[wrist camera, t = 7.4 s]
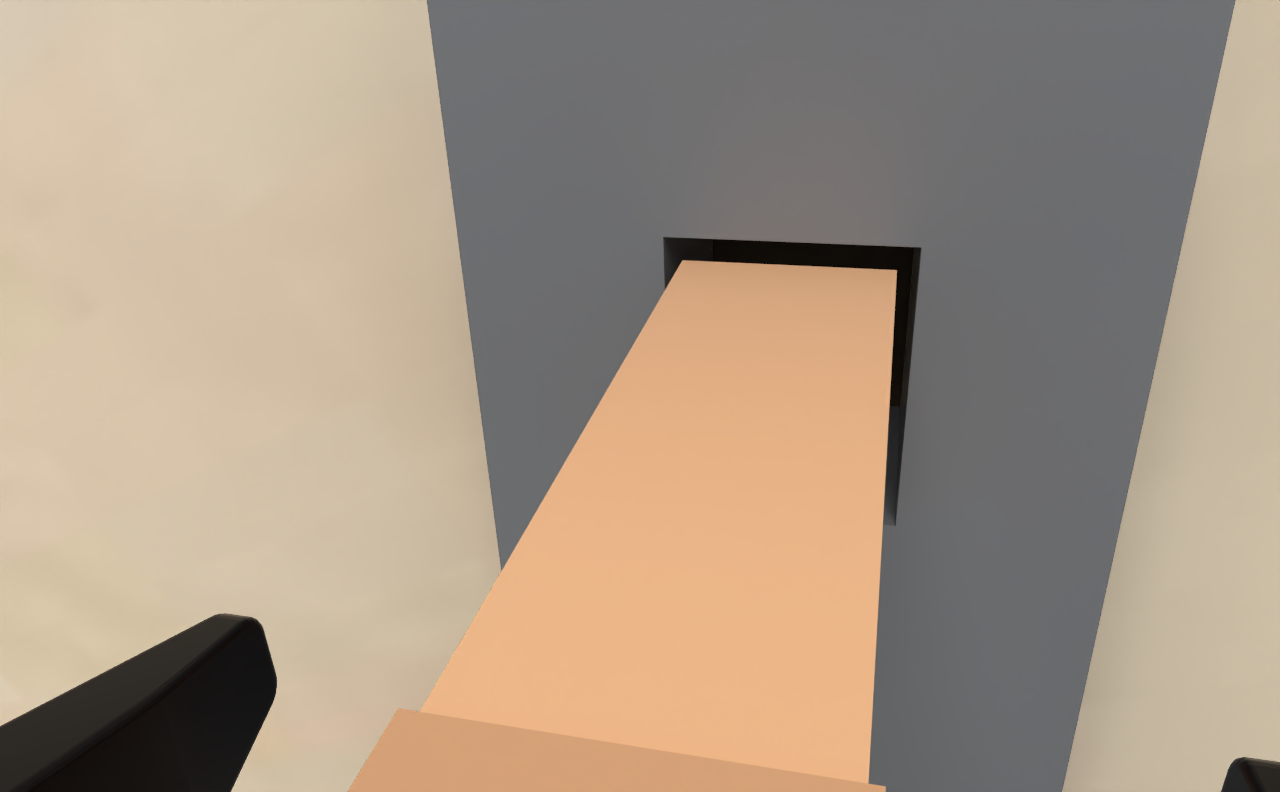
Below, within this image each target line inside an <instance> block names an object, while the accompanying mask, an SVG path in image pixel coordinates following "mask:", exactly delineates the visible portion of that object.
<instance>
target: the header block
mask: <svg viewBox="0 0 1280 792" xmlns="http://www.w3.org/2000/svg"><path fill="white" fill-rule="evenodd" d="M427 5H428V12H429V20H430V28H431V35H432V43H433V51H434V58H435V66H436V74H437V81H438V89H439V97H440V104H441V112H442V120H443V127H444V135H445V142H446V150H447V158H448V165H449V173H450V181H451V188H452V196H453V204H454V211H455V219H456V227H457V234H458V242H459V250H460V257H461V265H462V273H463V280H464V288H465V296H466V303H467V311H468V319H469V326H470V334H471V342H472V349H473V357H474V365H475V372H476V380H477V388H478V395H479V403H480V411H481V418H482V426H483V434H484V441H485V449H486V456H487V464H488V472H489V479H490V487H491V495H492V502H493V510H494V518H495V525H496V533H497V541H498V548H499V556H500V564H501V571H502V570H503V568H504V566H505V564H506V563H507V561H508V559H509V558H510V556H511V554H512V552H513V551H514V549H515V547H516V546H517V544H518V542H519V540H520V539H521V537H522V535H523V533H524V532H525V530H526V528H527V527H528V525H529V523H530V521H531V520H532V518H533V516H534V515H535V513H536V511H537V509H538V508H539V506H540V504H541V503H542V501H543V499H544V497H545V496H546V494H547V492H548V491H549V489H550V487H551V485H552V484H553V482H554V480H555V478H556V477H557V475H558V473H559V472H560V470H561V468H562V466H563V465H564V463H565V461H566V460H567V458H568V456H569V454H570V453H571V451H572V449H573V448H574V446H575V444H576V442H577V441H578V439H579V437H580V435H581V434H582V432H583V430H584V429H585V427H586V425H587V423H588V422H589V420H590V418H591V417H592V415H593V413H594V411H595V410H596V408H597V406H598V405H599V403H600V401H601V399H602V398H603V396H604V394H605V393H606V391H607V389H608V387H609V386H610V384H611V382H612V380H613V379H614V377H615V375H616V374H617V372H618V370H619V368H620V367H621V365H622V363H623V362H624V360H625V358H626V356H627V355H628V353H629V351H630V350H631V348H632V346H633V344H634V343H635V341H636V339H637V338H638V336H639V334H640V332H641V331H642V329H643V327H644V325H645V324H646V322H647V320H648V319H649V317H650V315H651V313H652V312H653V310H654V308H655V307H656V305H657V303H658V301H659V300H660V298H661V296H662V295H663V293H664V291H665V289H666V288H667V286H668V284H669V283H670V281H671V279H672V277H673V276H674V274H675V272H676V270H677V269H678V267H679V265H680V264H681V262H682V260H687V261H709V262H713V239H725V240H750V241H775V242H799V243H824V244H849V245H873V246H898V247H914V256H913V267H912V278H911V289H910V300H909V312H908V323H907V334H906V345H905V356H904V367H903V378H902V389H901V401H900V407H899V406H889V423H888V441H887V459H886V477H885V495H884V513H883V531H882V549H881V567H880V585H879V603H878V621H877V639H876V656H875V674H874V692H873V710H872V728H871V746H870V764H869V782H868V784H874V785H880V786H886V792H1062V789H1063V784H1064V780H1065V775H1066V771H1067V766H1068V762H1069V757H1070V753H1071V748H1072V743H1073V739H1074V734H1075V730H1076V725H1077V721H1078V716H1079V711H1080V707H1081V702H1082V698H1083V693H1084V689H1085V684H1086V680H1087V675H1088V670H1089V666H1090V661H1091V657H1092V652H1093V648H1094V643H1095V638H1096V634H1097V629H1098V625H1099V620H1100V616H1101V611H1102V607H1103V602H1104V597H1105V593H1106V588H1107V584H1108V579H1109V575H1110V570H1111V566H1112V561H1113V556H1114V552H1115V547H1116V543H1117V538H1118V534H1119V529H1120V524H1121V520H1122V515H1123V511H1124V506H1125V502H1126V497H1127V493H1128V488H1129V483H1130V479H1131V474H1132V470H1133V465H1134V461H1135V456H1136V451H1137V447H1138V442H1139V438H1140V433H1141V429H1142V424H1143V420H1144V415H1145V410H1146V406H1147V401H1148V397H1149V392H1150V388H1151V383H1152V379H1153V374H1154V369H1155V365H1156V360H1157V356H1158V351H1159V347H1160V342H1161V337H1162V333H1163V328H1164V324H1165V319H1166V315H1167V310H1168V306H1169V301H1170V296H1171V292H1172V287H1173V283H1174V278H1175V274H1176V269H1177V265H1178V260H1179V255H1180V251H1181V246H1182V242H1183V237H1184V233H1185V228H1186V223H1187V219H1188V214H1189V210H1190V205H1191V201H1192V196H1193V192H1194V187H1195V182H1196V178H1197V173H1198V169H1199V164H1200V160H1201V155H1202V150H1203V146H1204V141H1205V137H1206V132H1207V128H1208V123H1209V119H1210V114H1211V109H1212V105H1213V100H1214V96H1215V91H1216V87H1217V82H1218V78H1219V73H1220V68H1221V64H1222V59H1223V55H1224V50H1225V46H1226V41H1227V36H1228V32H1229V27H1230V23H1231V18H1232V14H1233V9H1234V5H1235V0H427Z"/></svg>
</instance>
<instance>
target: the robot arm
mask: <svg viewBox="0 0 1280 792" xmlns="http://www.w3.org/2000/svg"><path fill="white" fill-rule="evenodd" d="M276 688H277V677H276V672H275V669H274V665H273V662H272V658H271V655H270V651H269V647H268V644H267V640H266V637H265V633H264V630H263V627H262V625H261V624H260V623H259V622H258V620H257V619H254V618H252V617H247V616H240V615H233V614H217V615H214V616H212V617H210V618H208V619H206V620H204V621H202V622H200V623H198V624H196V625H194V626H192V627H191V628H189V629H187V630H185V631H183V632H181V633H179V634H177V635H175V636H173V637H171V638H169V639H167V640H166V641H164V642H162V643H160V644H158V645H156V646H154V647H152V648H150V649H148V650H146V651H144V652H142V653H140V654H139V655H137V656H135V657H133V658H131V659H129V660H127V661H125V662H123V663H121V664H119V665H117V666H115V667H114V668H112V669H110V670H108V671H106V672H104V673H102V674H100V675H98V676H96V677H94V678H92V679H90V680H88V681H87V682H85V683H83V684H81V685H79V686H77V687H75V688H73V689H71V690H69V691H67V692H65V693H63V694H61V695H60V696H58V697H56V698H54V699H52V700H50V701H48V702H46V703H44V704H42V705H40V706H38V707H36V708H34V709H33V710H31V711H29V712H27V713H25V714H23V715H21V716H19V717H17V718H15V719H13V720H11V721H9V722H7V723H6V724H4V725H2V726H0V792H231V790H232V788H233V786H234V784H235V782H236V780H237V777H238V775H239V773H240V771H241V769H242V767H243V765H244V763H245V761H246V758H247V756H248V754H249V752H250V750H251V748H252V746H253V744H254V742H255V739H256V737H257V735H258V733H259V731H260V729H261V727H262V725H263V723H264V720H265V718H266V716H267V714H268V712H269V710H270V708H271V706H272V703H273V701H274V698H275V694H276ZM1221 792H1280V762H1275V761H1268V760H1261V759H1254V758H1247V757H1242V758H1237V759H1235V760H1234V761H1233V762H1232V764H1231V765H1230V767H1229V769H1228V772H1227V775H1226V778H1225V781H1224V784H1223V787H1222V791H1221Z"/></svg>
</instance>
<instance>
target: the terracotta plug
mask: <svg viewBox="0 0 1280 792" xmlns="http://www.w3.org/2000/svg"><path fill="white" fill-rule="evenodd" d="M896 280H897V270H884V269H862V268H840V267H819V266H797V265H775V264H753V263H731V262H709V261H687V260H682V262H681V264H680V265H679V267H678V269H677V270H676V272H675V274H674V276H673V277H672V279H671V281H670V283H669V284H668V286H667V288H666V289H665V291H664V293H663V295H662V296H661V298H660V300H659V301H658V303H657V305H656V307H655V308H654V310H653V312H652V313H651V315H650V317H649V319H648V320H647V322H646V324H645V325H644V327H643V329H642V331H641V332H640V334H639V336H638V338H637V339H636V341H635V343H634V344H633V346H632V348H631V350H630V351H629V353H628V355H627V356H626V358H625V360H624V362H623V363H622V365H621V367H620V368H619V370H618V372H617V374H616V375H615V377H614V379H613V380H612V382H611V384H610V386H609V387H608V389H607V391H606V393H605V394H604V396H603V398H602V399H601V401H600V403H599V405H598V406H597V408H596V410H595V411H594V413H593V415H592V417H591V418H590V420H589V422H588V423H587V425H586V427H585V429H584V430H583V432H582V434H581V435H580V437H579V439H578V441H577V442H576V444H575V446H574V448H573V449H572V451H571V453H570V454H569V456H568V458H567V460H566V461H565V463H564V465H563V466H562V468H561V470H560V472H559V473H558V475H557V477H556V478H555V480H554V482H553V484H552V485H551V487H550V489H549V491H548V492H547V494H546V496H545V497H544V499H543V501H542V503H541V504H540V506H539V508H538V509H537V511H536V513H535V515H534V516H533V518H532V520H531V521H530V523H529V525H528V527H527V528H526V530H525V532H524V533H523V535H522V537H521V539H520V540H519V542H518V544H517V546H516V547H515V549H514V551H513V552H512V554H511V556H510V558H509V559H508V561H507V563H506V564H505V566H504V568H503V570H502V571H501V573H500V575H499V576H498V578H497V580H496V582H495V583H494V585H493V587H492V588H491V590H490V592H489V594H488V595H487V597H486V599H485V601H484V602H483V604H482V606H481V607H480V609H479V611H478V613H477V614H476V616H475V618H474V619H473V621H472V623H471V625H470V626H469V628H468V630H467V631H466V633H465V635H464V637H463V638H462V640H461V642H460V644H459V645H458V647H457V649H456V650H455V652H454V654H453V656H452V657H451V659H450V661H449V662H448V664H447V666H446V668H445V669H444V671H443V673H442V674H441V676H440V678H439V680H438V681H437V683H436V685H435V686H434V688H433V690H432V692H431V693H430V695H429V697H428V699H427V700H426V702H425V704H424V705H423V707H422V709H421V711H420V712H417V711H411V710H405V709H399V708H398V710H397V711H396V713H395V715H394V716H393V718H392V720H391V721H390V723H389V725H388V726H387V728H386V729H385V731H384V733H383V734H382V736H381V738H380V739H379V741H378V743H377V744H376V746H375V748H374V749H373V751H372V752H371V754H370V756H369V757H368V759H367V761H366V762H365V764H364V766H363V767H362V769H361V770H360V772H359V774H358V775H357V777H356V779H355V780H354V782H353V784H352V785H351V787H350V789H349V790H348V792H886V786H880V785H874V784H868V782H869V764H870V746H871V728H872V710H873V692H874V674H875V656H876V639H877V621H878V603H879V585H880V567H881V549H882V531H883V513H884V495H885V477H886V459H887V441H888V423H889V405H890V387H891V369H892V351H893V334H894V316H895V298H896Z"/></svg>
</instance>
